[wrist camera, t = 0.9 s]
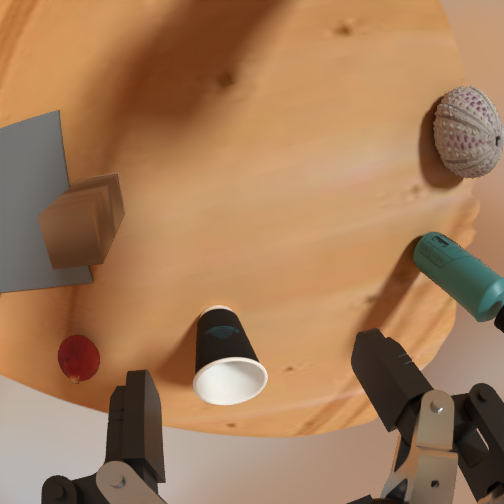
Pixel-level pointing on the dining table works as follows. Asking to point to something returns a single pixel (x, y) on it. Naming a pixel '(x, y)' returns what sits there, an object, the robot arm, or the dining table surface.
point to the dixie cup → (225, 360)
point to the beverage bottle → (462, 277)
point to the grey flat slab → (31, 203)
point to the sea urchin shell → (468, 132)
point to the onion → (78, 358)
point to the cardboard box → (83, 222)
